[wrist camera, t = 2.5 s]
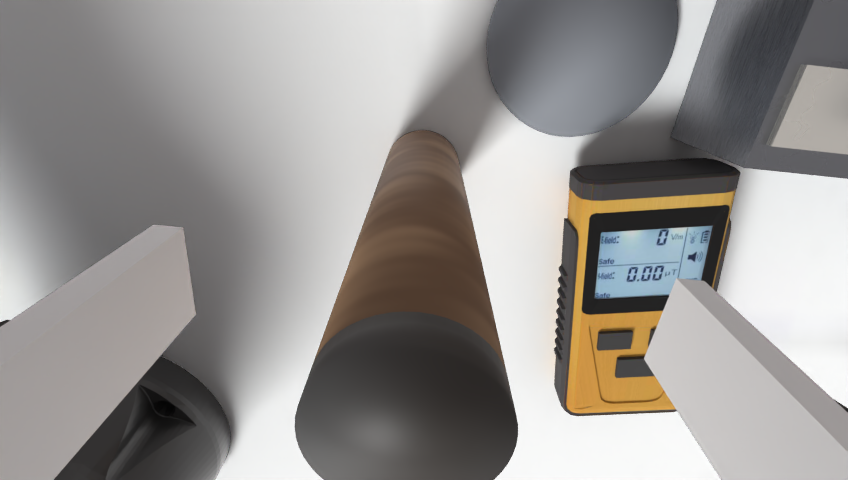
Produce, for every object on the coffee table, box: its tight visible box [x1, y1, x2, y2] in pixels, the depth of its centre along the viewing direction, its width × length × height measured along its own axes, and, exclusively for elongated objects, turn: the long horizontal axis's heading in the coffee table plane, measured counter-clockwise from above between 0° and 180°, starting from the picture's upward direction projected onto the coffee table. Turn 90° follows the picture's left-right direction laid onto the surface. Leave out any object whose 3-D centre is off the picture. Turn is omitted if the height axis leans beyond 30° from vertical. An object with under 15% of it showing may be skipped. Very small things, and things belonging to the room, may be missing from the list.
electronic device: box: [554, 158, 740, 416], centre depth 25 cm, size 8×16×3 cm, turn 4°
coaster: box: [487, 0, 678, 137], centre depth 21 cm, size 9×9×1 cm
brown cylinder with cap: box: [295, 130, 518, 480], centre depth 16 cm, size 4×4×18 cm
